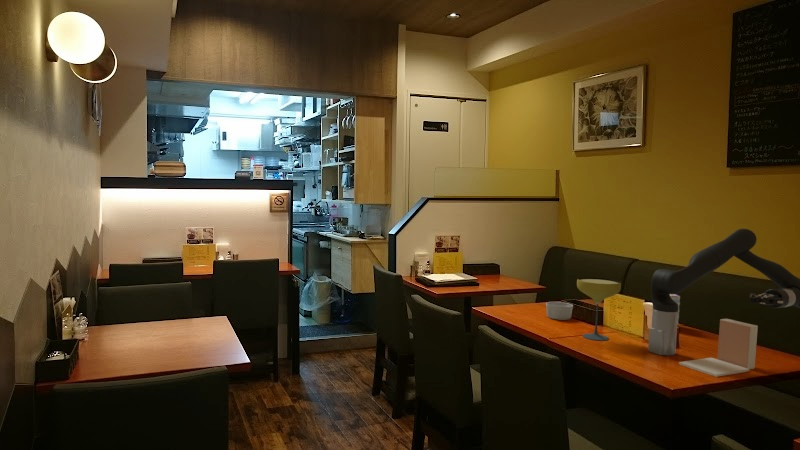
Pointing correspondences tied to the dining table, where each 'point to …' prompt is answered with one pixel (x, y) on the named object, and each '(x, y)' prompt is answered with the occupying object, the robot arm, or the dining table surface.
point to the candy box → (677, 300)
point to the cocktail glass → (598, 296)
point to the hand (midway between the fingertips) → (751, 300)
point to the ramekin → (559, 310)
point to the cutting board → (714, 367)
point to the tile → (737, 343)
